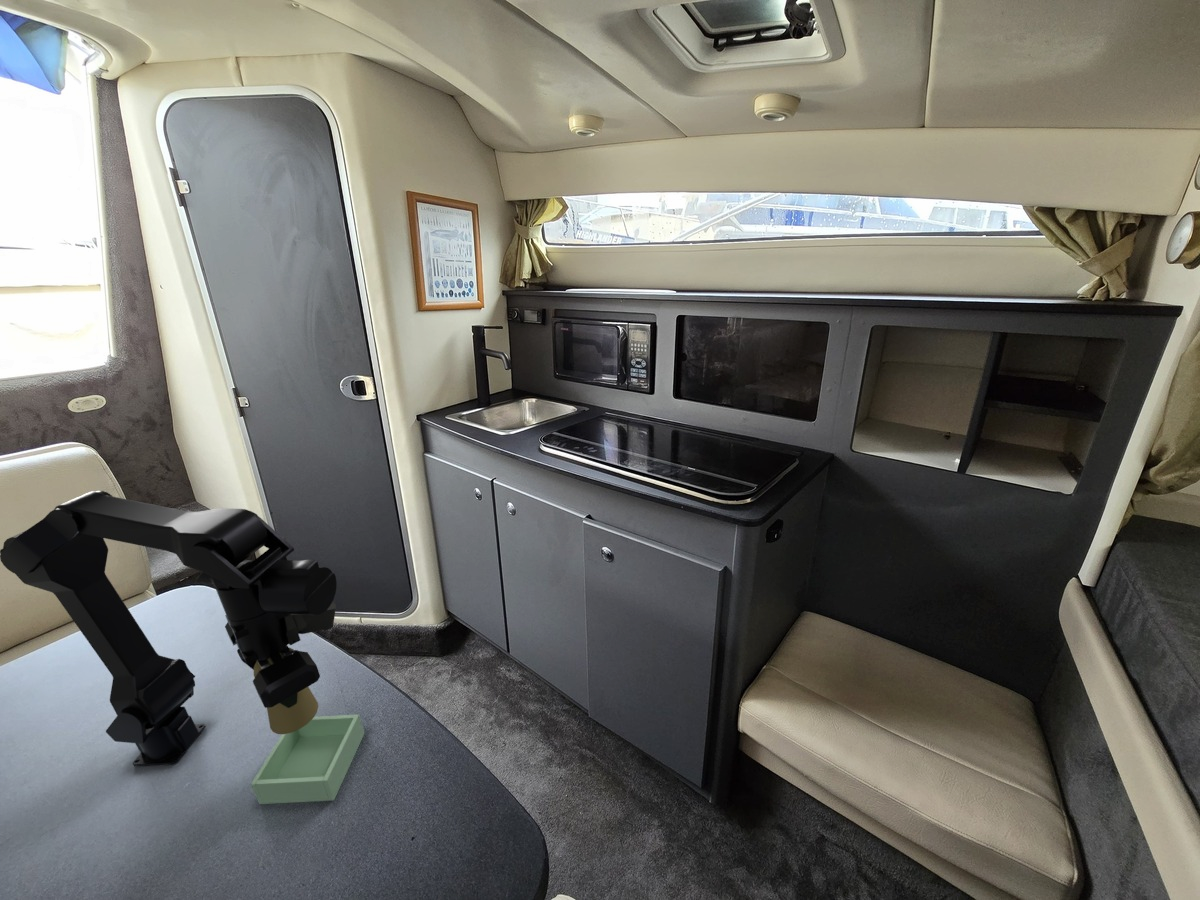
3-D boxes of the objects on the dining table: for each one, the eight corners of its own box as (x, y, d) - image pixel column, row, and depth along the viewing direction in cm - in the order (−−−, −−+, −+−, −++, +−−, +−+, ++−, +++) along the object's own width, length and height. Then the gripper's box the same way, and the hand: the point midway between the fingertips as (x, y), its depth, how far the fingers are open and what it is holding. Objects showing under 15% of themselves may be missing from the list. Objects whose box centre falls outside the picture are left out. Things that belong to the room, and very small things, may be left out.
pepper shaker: (296, 737, 67) (274, 677, 63) (259, 730, 68) (234, 670, 64) (327, 700, 72) (309, 642, 68) (292, 694, 74) (272, 637, 69)
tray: (259, 804, 68) (250, 784, 66) (299, 736, 77) (292, 717, 75) (334, 800, 68) (326, 780, 66) (364, 733, 77) (359, 714, 76)
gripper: (347, 605, 62) (373, 696, 68) (298, 551, 74) (323, 632, 80) (244, 656, 55) (283, 753, 61) (208, 587, 67) (243, 673, 73)
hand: (287, 695), depth 69 cm, fingers closed on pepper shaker, 4 cm apart
